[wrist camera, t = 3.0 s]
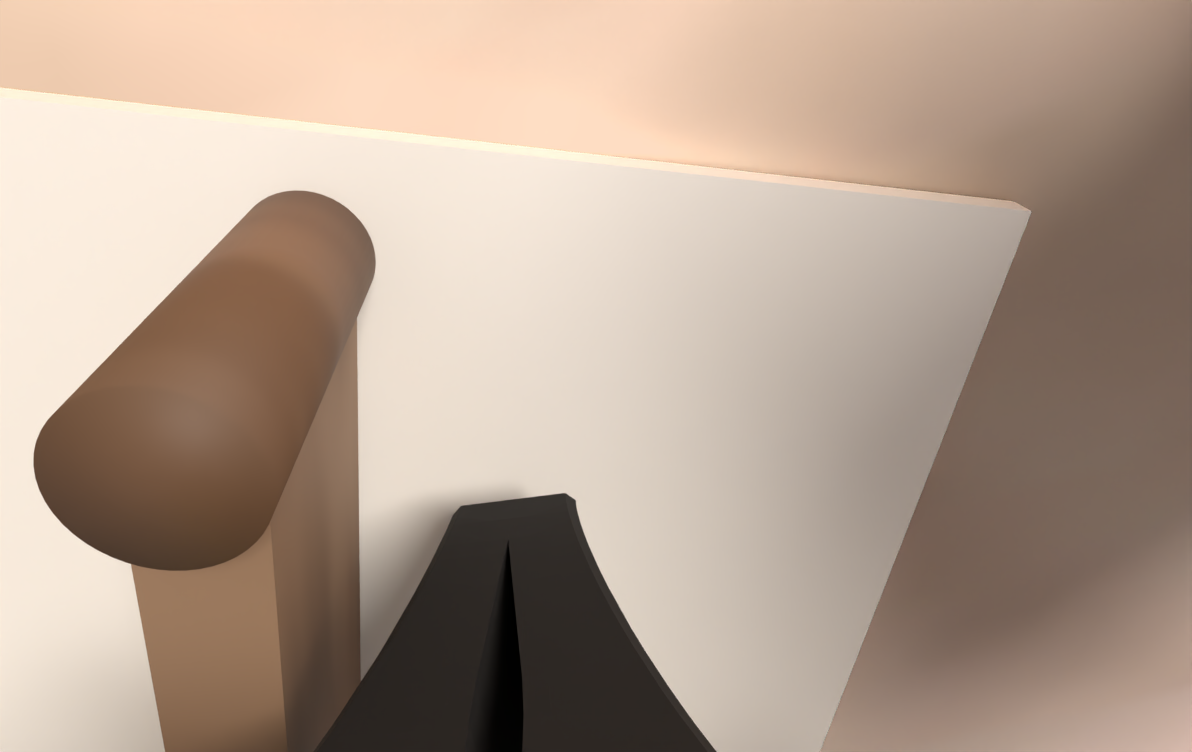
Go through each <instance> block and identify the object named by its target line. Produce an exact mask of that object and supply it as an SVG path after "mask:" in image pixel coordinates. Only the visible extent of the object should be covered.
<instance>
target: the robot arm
mask: <svg viewBox="0 0 1192 752" xmlns="http://www.w3.org/2000/svg"><path fill="white" fill-rule="evenodd" d="M314 752H716V750H715V749H714V748H713V746H712V745H711V744H710V743H709V741H708V740H707V739H706V737H705V736H704V735H703V733H702V732H701V731H700V730H699V728H698V727H697V726H696V724H695V723H694V722H693V720H692V719H691V717H690V716H689V715H688V713H687V712H686V711H685V709H684V708H683V706H682V705H681V704H680V702H679V701H678V699H677V698H676V696H675V695H674V694H673V692H672V691H671V689H670V688H669V686H668V685H667V683H666V682H665V680H664V679H663V677H662V676H661V674H660V673H659V671H658V670H657V668H656V667H655V665H654V664H653V662H652V661H651V659H650V657H649V656H648V654H647V653H646V651H645V650H644V648H643V647H642V645H641V643H640V642H639V640H638V638H637V637H636V635H635V633H634V632H633V630H632V629H631V627H630V625H629V623H628V621H627V620H626V618H625V616H624V614H623V612H622V611H621V609H620V607H619V605H618V604H617V602H616V600H615V598H614V596H613V595H612V593H611V591H610V589H609V587H608V585H607V583H606V581H605V579H604V577H603V575H602V573H601V571H600V569H599V567H598V565H597V563H596V561H595V558H594V556H593V554H592V552H591V549H590V547H589V545H588V542H587V540H586V537H585V534H584V532H583V529H582V526H581V523H580V519H579V516H578V512H577V507H576V500H575V499H573V498H572V497H570V496H569V495H568V494H566V493H560V494H552V495H544V496H536V497H528V498H520V499H512V500H504V501H496V502H488V503H479V504H471V505H463V506H460V508H459V509H458V510H457V511H456V512H455V513H454V514H453V516H452V518H451V521H450V523H449V525H448V527H447V529H446V532H445V534H444V536H443V538H442V540H441V542H440V544H439V546H438V548H437V550H436V552H435V554H434V556H433V558H432V560H431V562H430V564H429V566H428V568H427V570H426V572H425V574H424V576H423V578H422V580H421V581H420V583H419V585H418V587H417V589H416V591H415V593H414V594H413V596H412V598H411V600H410V601H409V603H408V605H407V607H406V608H405V610H404V612H403V614H402V615H401V617H400V619H399V621H398V622H397V624H396V626H395V627H394V629H393V631H392V633H391V634H390V636H389V638H388V640H387V641H386V643H385V645H384V646H383V648H382V650H381V651H380V653H379V655H378V656H377V658H376V659H375V661H374V662H373V664H372V665H371V667H370V669H369V670H368V672H367V673H366V675H365V676H364V678H363V679H362V681H361V682H360V684H359V685H358V687H357V688H356V690H355V691H354V693H353V695H352V696H351V698H350V699H349V701H348V702H347V704H346V705H345V707H344V708H343V710H342V711H341V713H340V714H339V716H338V717H337V719H336V720H335V722H334V723H333V725H332V726H331V728H330V729H329V730H328V732H327V733H326V735H325V736H324V737H323V739H322V740H321V742H320V743H319V744H318V746H317V747H316V749H315V750H314Z"/></svg>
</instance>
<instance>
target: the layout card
mask: <svg viewBox="0 0 1192 752" xmlns="http://www.w3.org/2000/svg"><path fill="white" fill-rule="evenodd" d="M294 190H298V191H309V192H315V193H318V194H322V195H325V196H327V197H329V198H332V199H334V200H335V201H337V202H339V203H341V204H342V205H344V206H345V207H346V208H348V209H349V210H350V211H351V212H352V213H353V214H354V215H355V216H356V217H357V218H358V219H359V220H360V221H361V222H362V224H363V225H364V227H365V228H366V230H367V232H368V234H369V236H370V238H371V240H372V243H373V246H374V251H375V258H376V267H375V274H374V278H373V281H372V283H371V286H370V288H369V291H368V293H367V295H366V298H365V300H364V302H363V305H362V307H361V309H360V312H359V314H358V317H357V369H358V466H359V563H360V660H361V681H362V679H363V678H364V676H365V675H366V673H367V672H368V670H369V669H370V667H371V665H372V664H373V662H374V661H375V659H376V658H377V656H378V655H379V653H380V651H381V650H382V648H383V646H384V645H385V643H386V641H387V640H388V638H389V636H390V634H391V633H392V631H393V629H394V627H395V626H396V624H397V622H398V621H399V619H400V617H401V615H402V614H403V612H404V610H405V608H406V607H407V605H408V603H409V601H410V600H411V598H412V596H413V594H414V593H415V591H416V589H417V587H418V585H419V583H420V581H421V580H422V578H423V576H424V574H425V572H426V570H427V568H428V566H429V564H430V562H431V560H432V558H433V556H434V554H435V552H436V550H437V548H438V546H439V544H440V542H441V540H442V538H443V536H444V534H445V532H446V529H447V527H448V525H449V523H450V521H451V518H452V516H453V514H454V513H455V512H456V511H457V510H458V509H459V508H460V506H463V505H471V504H479V503H488V502H496V501H504V500H512V499H520V498H528V497H536V496H544V495H552V494H560V493H566V494H568V495H569V496H570V497H572V498H573V499H575V500H576V507H577V512H578V516H579V519H580V523H581V526H582V529H583V532H584V534H585V537H586V540H587V542H588V545H589V547H590V549H591V552H592V554H593V556H594V558H595V561H596V563H597V565H598V567H599V569H600V571H601V573H602V575H603V577H604V579H605V581H606V583H607V585H608V587H609V589H610V591H611V593H612V595H613V596H614V598H615V600H616V602H617V604H618V605H619V607H620V609H621V611H622V612H623V614H624V616H625V618H626V620H627V621H628V623H629V625H630V627H631V629H632V630H633V632H634V633H635V635H636V637H637V638H638V640H639V642H640V643H641V645H642V647H643V648H644V650H645V651H646V653H647V654H648V656H649V657H650V659H651V661H652V662H653V664H654V665H655V667H656V668H657V670H658V671H659V673H660V674H661V676H662V677H663V679H664V680H665V682H666V683H667V685H668V686H669V688H670V689H671V691H672V692H673V694H674V695H675V696H676V698H677V699H678V701H679V702H680V704H681V705H682V706H683V708H684V709H685V711H686V712H687V713H688V715H689V716H690V717H691V719H692V720H693V722H694V723H695V724H696V726H697V727H698V728H699V730H700V731H701V732H702V733H703V735H704V736H705V737H706V739H707V740H708V741H709V743H710V744H711V745H712V746H713V748H714V749H715V750H716V752H820V751H821V748H822V745H823V743H824V740H825V738H826V735H827V733H828V730H829V728H830V725H831V723H832V720H833V717H834V715H835V712H836V710H837V707H838V705H839V702H840V700H841V697H842V694H843V692H844V689H845V687H846V684H847V682H848V679H849V677H850V674H851V672H852V669H853V666H854V664H855V661H856V659H857V656H858V654H859V651H860V649H861V646H862V643H863V641H864V638H865V636H866V633H867V631H868V628H869V626H870V623H871V621H872V618H873V615H874V613H875V610H876V608H877V605H878V603H879V600H880V598H881V595H882V592H883V590H884V587H885V585H886V582H887V580H888V577H889V575H890V572H891V569H892V567H893V564H894V562H895V559H896V557H897V554H898V552H899V549H900V547H901V544H902V541H903V539H904V536H905V534H906V531H907V529H908V526H909V524H910V521H911V518H912V516H913V513H914V511H915V508H916V506H917V503H918V501H919V498H920V496H921V493H922V490H923V488H924V485H925V483H926V480H927V478H928V475H929V473H930V470H931V467H932V465H933V462H934V460H935V457H936V455H937V452H938V450H939V447H940V445H941V442H942V439H943V437H944V434H945V432H946V429H947V427H948V424H949V422H950V419H951V416H952V414H953V411H954V409H955V406H956V404H957V401H958V399H959V396H960V394H961V391H962V388H963V386H964V383H965V381H966V378H967V376H968V373H969V371H970V368H971V365H972V363H973V360H974V358H975V355H976V353H977V350H978V348H979V345H980V343H981V340H982V337H983V335H984V332H985V330H986V327H987V325H988V322H989V320H990V317H991V314H992V312H993V309H994V307H995V304H996V302H997V299H998V297H999V294H1000V292H1001V289H1002V286H1003V284H1004V281H1005V279H1006V276H1007V274H1008V271H1009V269H1010V266H1011V263H1012V261H1013V258H1014V256H1015V253H1016V251H1017V248H1018V246H1019V243H1020V241H1021V238H1022V235H1023V233H1024V230H1025V228H1026V225H1027V223H1028V220H1029V218H1030V215H1031V212H1032V211H1030V210H1029V209H1027V208H1025V207H1023V206H1021V205H1020V204H1018V203H1016V202H1014V201H1007V200H998V199H989V198H981V197H972V196H963V195H954V194H945V193H936V192H927V191H918V190H909V189H900V188H891V187H882V186H874V185H865V184H856V183H847V182H838V181H829V180H820V179H811V178H802V177H793V176H784V175H775V174H767V173H758V172H749V171H740V170H731V169H722V168H713V167H704V166H695V165H686V164H677V163H668V162H659V161H651V160H642V159H633V158H624V157H615V156H606V155H597V154H588V153H579V152H570V151H561V150H552V149H544V148H535V147H526V146H517V145H508V144H499V143H490V142H481V141H472V140H463V139H454V138H445V137H437V136H428V135H419V134H410V133H401V132H392V131H383V130H374V129H365V128H356V127H347V126H338V125H329V124H321V123H312V122H303V121H294V120H285V119H276V118H267V117H258V116H249V115H240V114H231V113H222V112H214V111H205V110H196V109H187V108H178V107H169V106H160V105H151V104H142V103H133V102H124V101H115V100H107V99H98V98H89V97H80V96H71V95H62V94H53V93H44V92H35V91H26V90H17V89H8V88H0V752H165V749H164V743H163V738H162V732H161V727H160V721H159V716H158V710H157V705H156V699H155V694H154V688H153V683H152V677H151V672H150V666H149V661H148V656H147V650H146V645H145V639H144V634H143V628H142V623H141V617H140V612H139V606H138V601H137V595H136V590H135V584H134V579H133V573H132V568H131V564H129V563H126V562H123V561H120V560H118V559H115V558H112V557H110V556H108V555H106V554H104V553H102V552H100V551H98V550H96V549H94V548H93V547H91V546H89V545H88V544H86V543H85V542H83V541H82V540H81V539H79V538H78V537H76V536H75V535H74V534H73V533H71V532H70V531H69V530H68V529H67V528H66V527H65V526H64V525H63V524H62V523H61V522H60V521H59V520H58V519H57V517H56V516H55V515H54V514H53V513H52V511H51V510H50V508H49V507H48V505H47V504H46V502H45V501H44V499H43V497H42V495H41V493H40V491H39V488H38V485H37V482H36V479H35V473H34V466H33V458H34V449H35V444H36V440H37V438H38V436H39V433H40V431H41V429H42V427H43V426H44V424H45V423H46V421H47V420H48V419H49V418H50V417H51V416H52V415H53V414H54V413H55V412H56V410H57V409H58V408H59V407H60V406H61V405H62V404H63V403H64V402H65V401H66V400H67V399H68V398H69V397H70V396H71V395H72V394H73V393H74V392H75V391H76V390H77V389H78V388H79V387H80V386H81V385H82V384H83V383H84V382H85V380H86V379H87V378H88V377H89V376H90V375H91V374H92V373H93V372H94V371H95V370H96V369H97V368H98V367H99V366H100V365H101V364H102V363H103V362H104V361H105V360H106V359H107V358H108V357H109V356H110V355H111V354H112V353H113V352H114V351H115V349H116V348H117V347H118V346H119V345H120V344H121V343H122V342H123V341H124V340H125V339H126V338H127V337H128V336H129V335H130V334H131V333H132V332H133V331H134V330H135V329H136V328H137V327H138V326H139V325H140V324H141V323H142V322H143V321H144V319H145V318H146V317H147V316H148V315H149V314H150V313H151V312H152V311H153V310H154V309H155V308H156V307H157V306H158V305H159V304H160V303H161V302H162V301H163V300H164V299H165V298H166V297H167V296H168V295H169V294H170V293H171V292H172V291H173V290H174V288H175V287H176V286H177V285H178V284H179V283H180V282H181V281H182V280H183V279H184V278H185V277H186V276H187V275H188V274H189V273H190V272H191V271H192V270H193V269H194V268H195V267H196V266H197V265H198V264H199V263H200V262H201V261H202V260H203V259H204V257H205V256H206V255H207V254H208V253H209V252H210V251H211V250H212V249H213V248H214V247H215V246H216V245H217V244H218V243H219V242H220V241H221V240H222V239H223V238H224V237H225V236H226V235H227V234H228V233H229V232H230V231H231V230H232V229H233V227H234V226H235V225H236V224H237V223H238V222H239V221H240V220H241V219H242V218H243V217H244V216H245V215H246V214H247V213H248V212H249V211H250V210H251V209H252V208H253V207H254V206H255V205H256V204H257V203H259V202H260V201H261V200H263V199H265V198H267V197H269V196H271V195H274V194H276V193H280V192H285V191H294Z"/></svg>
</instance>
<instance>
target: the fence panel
mask: <svg viewBox="0 0 1192 752" xmlns="http://www.w3.org/2000/svg"><path fill="white" fill-rule="evenodd" d="M375 267H376V258H375V251H374V246H373V243H372V240H371V238H370V236H369V234H368V232H367V230H366V228H365V227H364V225H363V224H362V222H361V221H360V220H359V219H358V218H357V217H356V216H355V215H354V214H353V213H352V212H351V211H350V210H349V209H348V208H346V207H345V206H344V205H342V204H341V203H339V202H337V201H335V200H334V199H332V198H329V197H327V196H325V195H322V194H318V193H315V192H309V191H298V190H294V191H285V192H280V193H276V194H274V195H271V196H269V197H267V198H265V199H263V200H261V201H260V202H259V203H257V204H256V205H255V206H254V207H253V208H252V209H251V210H250V211H249V212H248V213H247V214H246V215H245V216H244V217H243V218H242V219H241V220H240V221H239V222H238V223H237V224H236V225H235V226H234V227H233V229H232V230H231V231H230V232H229V233H228V234H227V235H226V236H225V237H224V238H223V239H222V240H221V241H220V242H219V243H218V244H217V245H216V246H215V247H214V248H213V249H212V250H211V251H210V252H209V253H208V254H207V255H206V256H205V257H204V259H203V260H202V261H201V262H200V263H199V264H198V265H197V266H196V267H195V268H194V269H193V270H192V271H191V272H190V273H189V274H188V275H187V276H186V277H185V278H184V279H183V280H182V281H181V282H180V283H179V284H178V285H177V286H176V287H175V288H174V290H173V291H172V292H171V293H170V294H169V295H168V296H167V297H166V298H165V299H164V300H163V301H162V302H161V303H160V304H159V305H158V306H157V307H156V308H155V309H154V310H153V311H152V312H151V313H150V314H149V315H148V316H147V317H146V318H145V319H144V321H143V322H142V323H141V324H140V325H139V326H138V327H137V328H136V329H135V330H134V331H133V332H132V333H131V334H130V335H129V336H128V337H127V338H126V339H125V340H124V341H123V342H122V343H121V344H120V345H119V346H118V347H117V348H116V349H115V351H114V352H113V353H112V354H111V355H110V356H109V357H108V358H107V359H106V360H105V361H104V362H103V363H102V364H101V365H100V366H99V367H98V368H97V369H96V370H95V371H94V372H93V373H92V374H91V375H90V376H89V377H88V378H87V379H86V380H85V382H84V383H83V384H82V385H81V386H80V387H79V388H78V389H77V390H76V391H75V392H74V393H73V394H72V395H71V396H70V397H69V398H68V399H67V400H66V401H65V402H64V403H63V404H62V405H61V406H60V407H59V408H58V409H57V410H56V412H55V413H54V414H53V415H52V416H51V417H50V418H49V419H48V420H47V421H46V423H45V424H44V426H43V427H42V429H41V431H40V433H39V436H38V438H37V440H36V444H35V449H34V458H33V466H34V473H35V479H36V482H37V485H38V488H39V491H40V493H41V495H42V497H43V499H44V501H45V502H46V504H47V505H48V507H49V508H50V510H51V511H52V513H53V514H54V515H55V516H56V517H57V519H58V520H59V521H60V522H61V523H62V524H63V525H64V526H65V527H66V528H67V529H68V530H69V531H70V532H71V533H73V534H74V535H75V536H76V537H78V538H79V539H81V540H82V541H83V542H85V543H86V544H88V545H89V546H91V547H93V548H94V549H96V550H98V551H100V552H102V553H104V554H106V555H108V556H110V557H112V558H115V559H118V560H120V561H123V562H126V563H129V564H131V568H132V573H133V579H134V584H135V590H136V595H137V601H138V606H139V612H140V617H141V623H142V628H143V634H144V639H145V645H146V650H147V656H148V661H149V666H150V672H151V677H152V683H153V688H154V694H155V699H156V705H157V710H158V716H159V721H160V727H161V732H162V738H163V743H164V749H165V752H314V750H315V749H316V747H317V746H318V744H319V743H320V742H321V740H322V739H323V737H324V736H325V735H326V733H327V732H328V730H329V729H330V728H331V726H332V725H333V723H334V722H335V720H336V719H337V717H338V716H339V714H340V713H341V711H342V710H343V708H344V707H345V705H346V704H347V702H348V701H349V699H350V698H351V696H352V695H353V693H354V691H355V690H356V688H357V687H358V685H359V684H360V682H361V660H360V563H359V466H358V369H357V317H358V314H359V312H360V309H361V307H362V305H363V302H364V300H365V298H366V295H367V293H368V291H369V288H370V286H371V283H372V281H373V278H374V274H375Z"/></svg>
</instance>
